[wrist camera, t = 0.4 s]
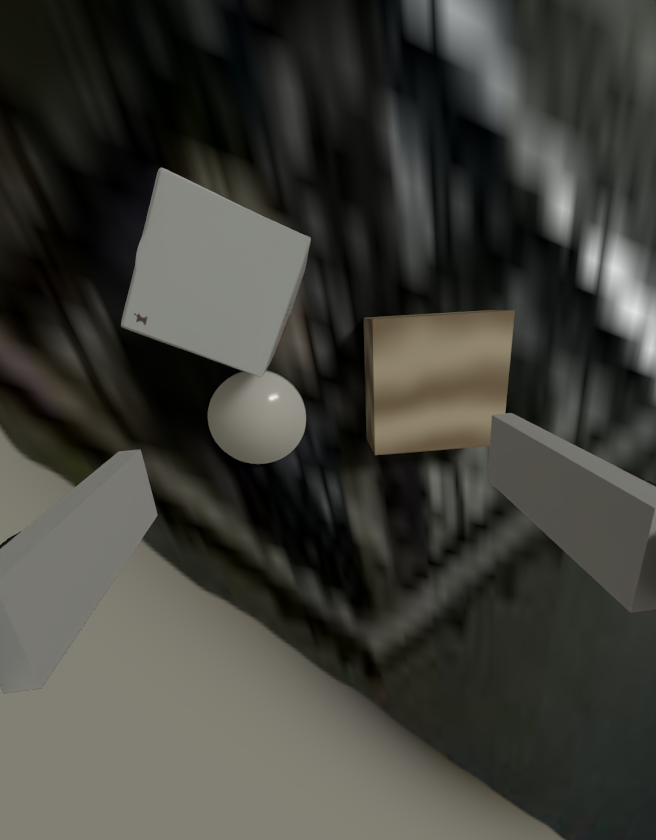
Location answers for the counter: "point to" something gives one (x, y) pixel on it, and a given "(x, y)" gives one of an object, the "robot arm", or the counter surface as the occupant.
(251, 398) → the cream smooth round part
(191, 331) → the supplement box
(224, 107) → the counter surface
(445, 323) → the maple block
